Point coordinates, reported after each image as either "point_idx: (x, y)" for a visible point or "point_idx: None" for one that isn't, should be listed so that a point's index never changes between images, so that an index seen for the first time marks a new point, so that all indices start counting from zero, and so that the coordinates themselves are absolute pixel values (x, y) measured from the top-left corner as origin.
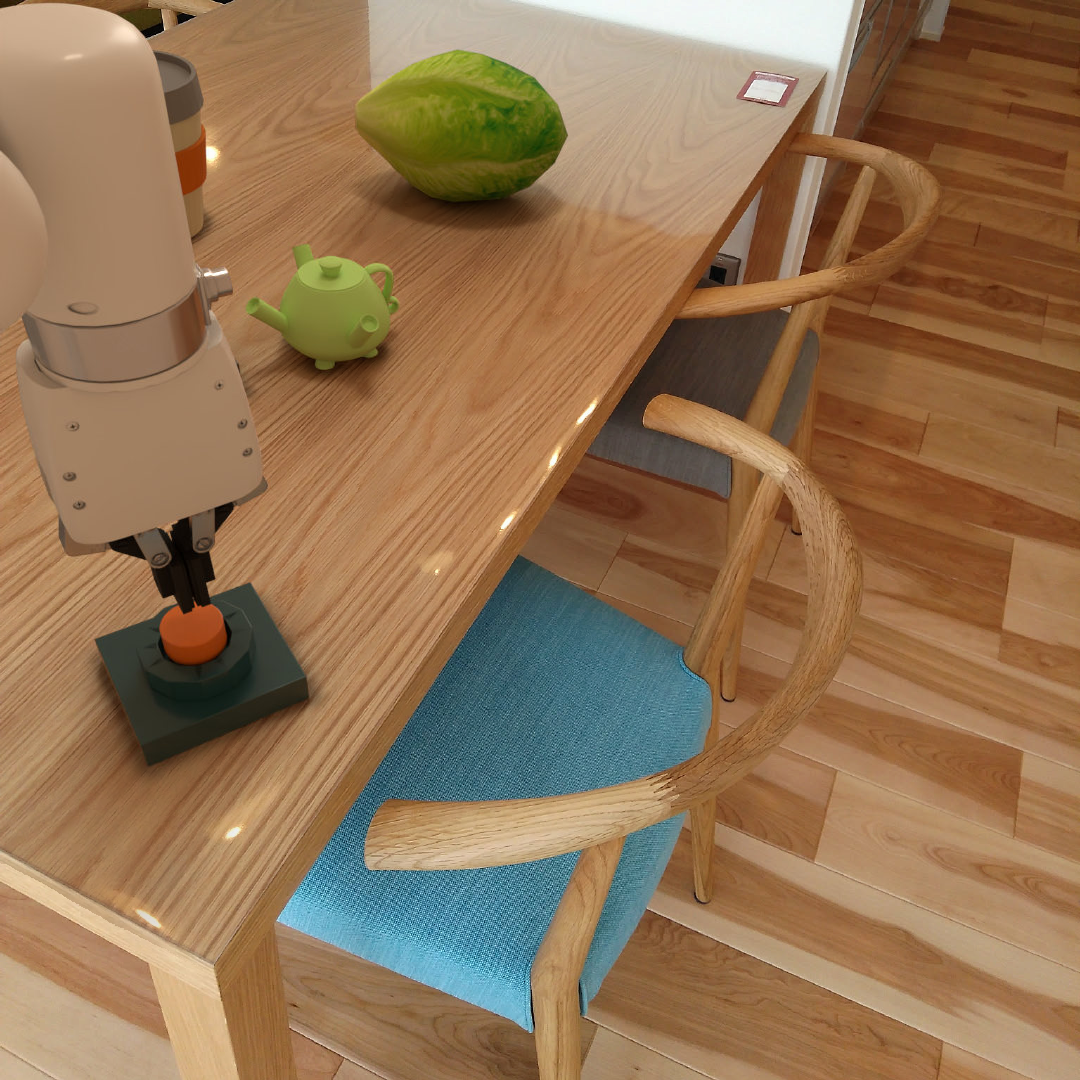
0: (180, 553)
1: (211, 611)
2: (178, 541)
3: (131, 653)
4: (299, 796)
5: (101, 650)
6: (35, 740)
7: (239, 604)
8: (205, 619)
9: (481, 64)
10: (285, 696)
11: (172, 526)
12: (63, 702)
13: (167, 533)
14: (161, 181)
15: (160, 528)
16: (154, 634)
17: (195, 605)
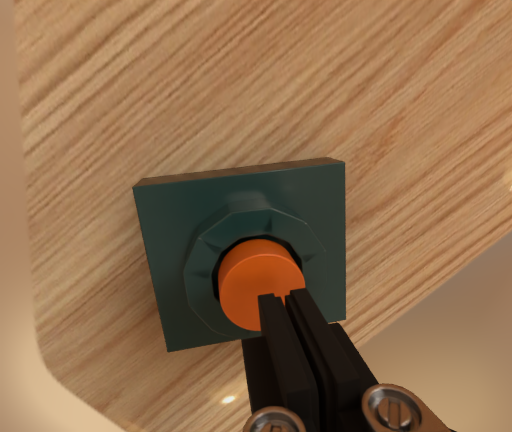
0: (320, 422)
1: (294, 282)
2: (332, 424)
3: (176, 228)
4: None
5: (139, 210)
6: (59, 262)
7: (319, 196)
8: (283, 294)
9: None
10: None
11: (337, 388)
12: (92, 222)
13: (317, 394)
14: None
15: (308, 389)
16: (210, 255)
17: (277, 263)
